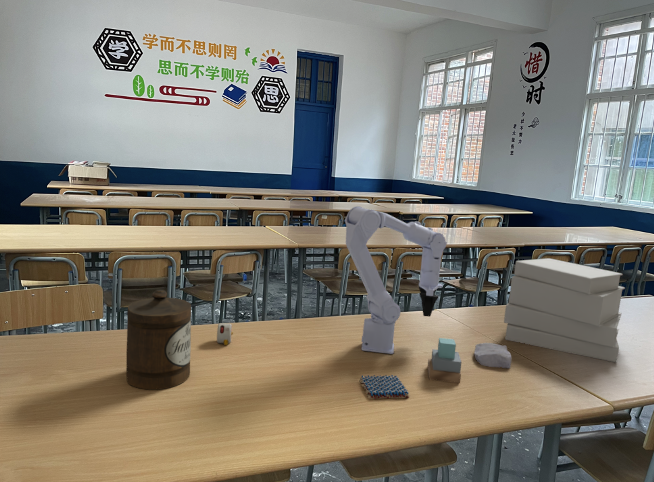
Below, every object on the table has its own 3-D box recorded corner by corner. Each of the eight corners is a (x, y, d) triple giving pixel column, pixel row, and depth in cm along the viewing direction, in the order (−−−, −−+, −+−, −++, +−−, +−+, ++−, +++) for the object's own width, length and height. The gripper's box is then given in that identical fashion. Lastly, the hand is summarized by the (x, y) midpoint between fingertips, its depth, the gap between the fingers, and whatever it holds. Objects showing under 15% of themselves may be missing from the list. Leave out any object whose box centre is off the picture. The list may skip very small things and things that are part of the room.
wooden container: (186, 389, 113) (187, 299, 110) (119, 390, 111) (119, 298, 107) (193, 363, 128) (194, 283, 124) (134, 364, 125) (134, 281, 122)
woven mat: (396, 380, 126) (397, 373, 126) (410, 400, 116) (411, 392, 116) (358, 381, 124) (358, 374, 124) (368, 401, 114) (369, 393, 114)
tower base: (428, 381, 127) (429, 370, 127) (427, 368, 135) (428, 358, 135) (459, 384, 126) (461, 374, 126) (456, 372, 134) (457, 362, 134)
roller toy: (233, 338, 147) (233, 320, 146) (231, 346, 141) (232, 327, 140) (218, 338, 146) (218, 320, 145) (216, 346, 140) (216, 327, 139)
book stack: (622, 369, 143) (636, 284, 139) (499, 342, 159) (508, 266, 154) (615, 339, 170) (627, 267, 166) (510, 319, 185) (518, 253, 181)
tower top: (433, 369, 127) (434, 359, 127) (431, 359, 134) (432, 349, 134) (460, 372, 127) (461, 362, 126) (457, 362, 133) (458, 352, 133)
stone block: (477, 371, 139) (514, 369, 137) (476, 355, 139) (512, 353, 137) (472, 357, 151) (506, 355, 149) (471, 342, 150) (504, 340, 148)
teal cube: (439, 357, 128) (440, 343, 128) (437, 351, 132) (438, 337, 132) (454, 359, 128) (455, 344, 127) (452, 353, 132) (453, 339, 131)
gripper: (445, 276, 141) (441, 320, 144) (441, 266, 156) (437, 307, 158) (421, 274, 142) (417, 318, 145) (419, 264, 157) (415, 304, 159)
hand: (426, 312), depth 151 cm, fingers open, 7 cm apart
